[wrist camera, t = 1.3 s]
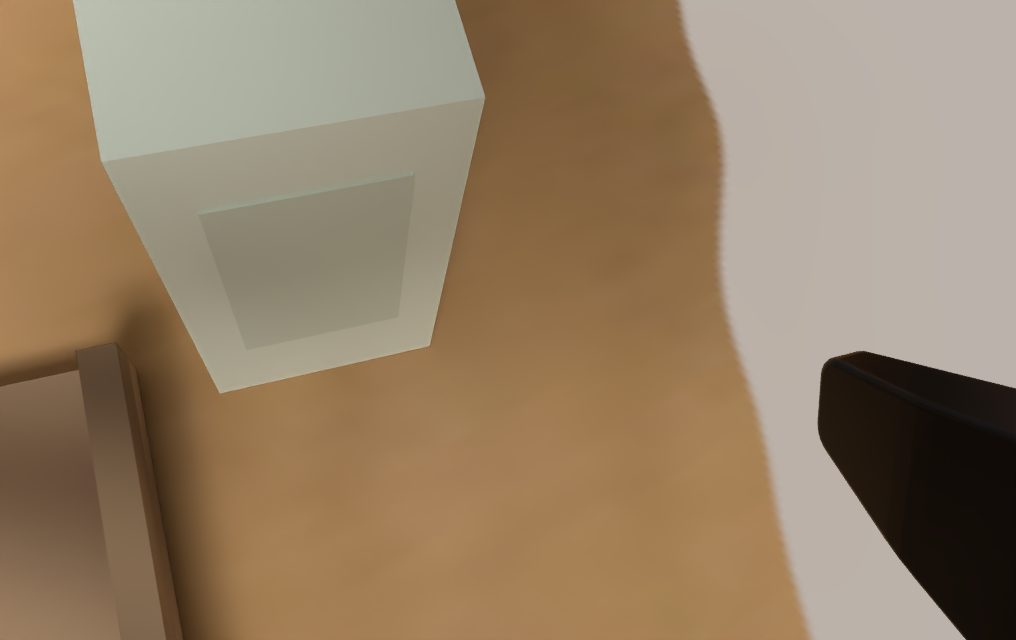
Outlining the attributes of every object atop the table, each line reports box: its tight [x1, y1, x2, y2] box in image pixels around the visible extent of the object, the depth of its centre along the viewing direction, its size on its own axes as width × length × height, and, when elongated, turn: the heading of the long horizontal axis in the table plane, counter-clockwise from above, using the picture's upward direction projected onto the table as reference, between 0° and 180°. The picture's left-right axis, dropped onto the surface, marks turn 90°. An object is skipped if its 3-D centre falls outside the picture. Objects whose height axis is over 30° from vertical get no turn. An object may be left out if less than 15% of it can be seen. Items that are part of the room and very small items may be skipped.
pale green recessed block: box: [73, 0, 485, 394], centre depth 18 cm, size 4×5×11 cm
